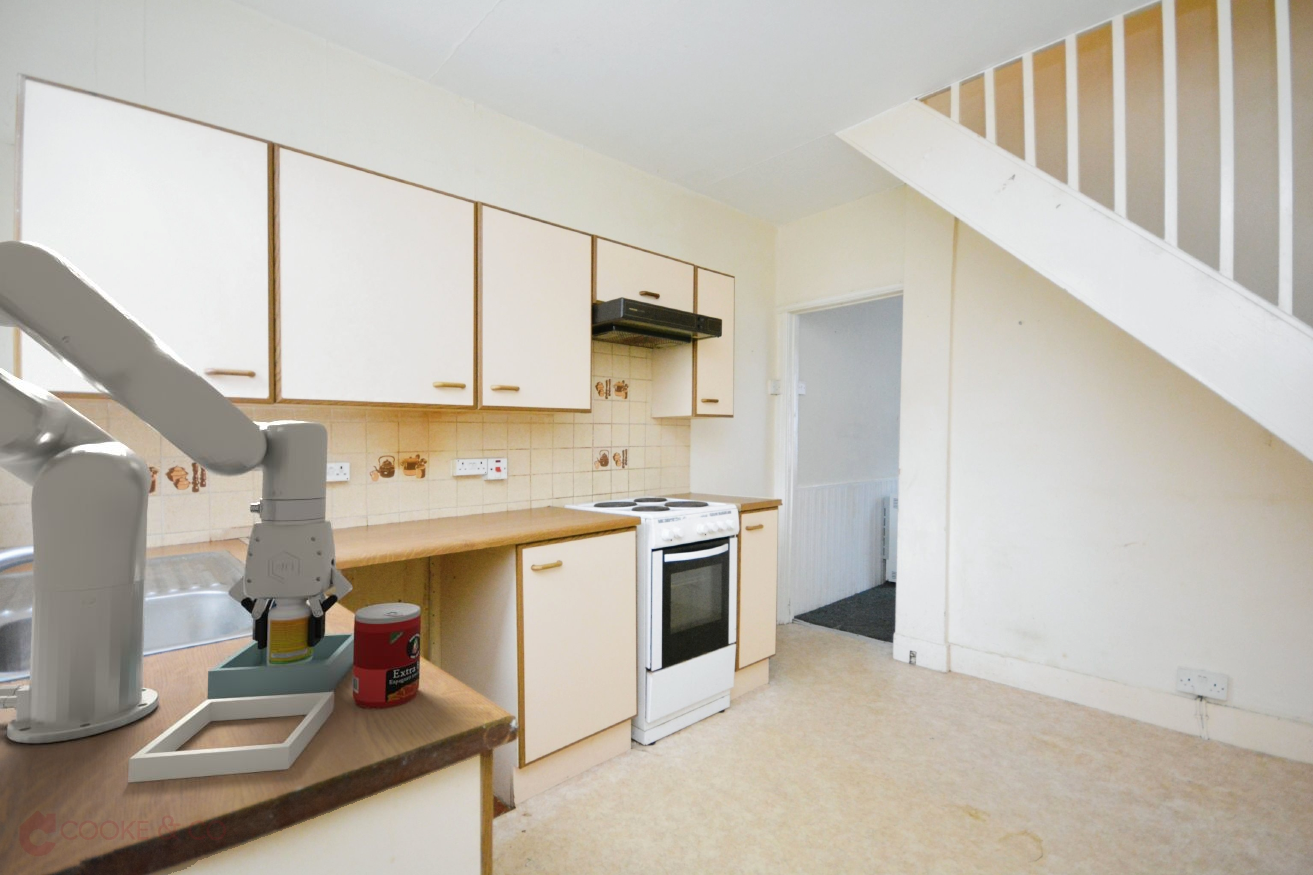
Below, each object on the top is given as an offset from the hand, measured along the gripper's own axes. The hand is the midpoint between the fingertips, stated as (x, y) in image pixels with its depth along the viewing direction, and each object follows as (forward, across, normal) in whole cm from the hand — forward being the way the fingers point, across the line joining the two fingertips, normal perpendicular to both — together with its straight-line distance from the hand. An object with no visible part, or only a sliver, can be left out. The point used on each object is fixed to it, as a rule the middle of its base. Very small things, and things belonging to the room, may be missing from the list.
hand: (290, 643), depth 82 cm
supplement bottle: (+3, 0, 0) cm, 3 cm away
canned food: (+5, +14, -8) cm, 17 cm away
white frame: (+5, +2, -18) cm, 19 cm away
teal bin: (+5, 0, 0) cm, 5 cm away
